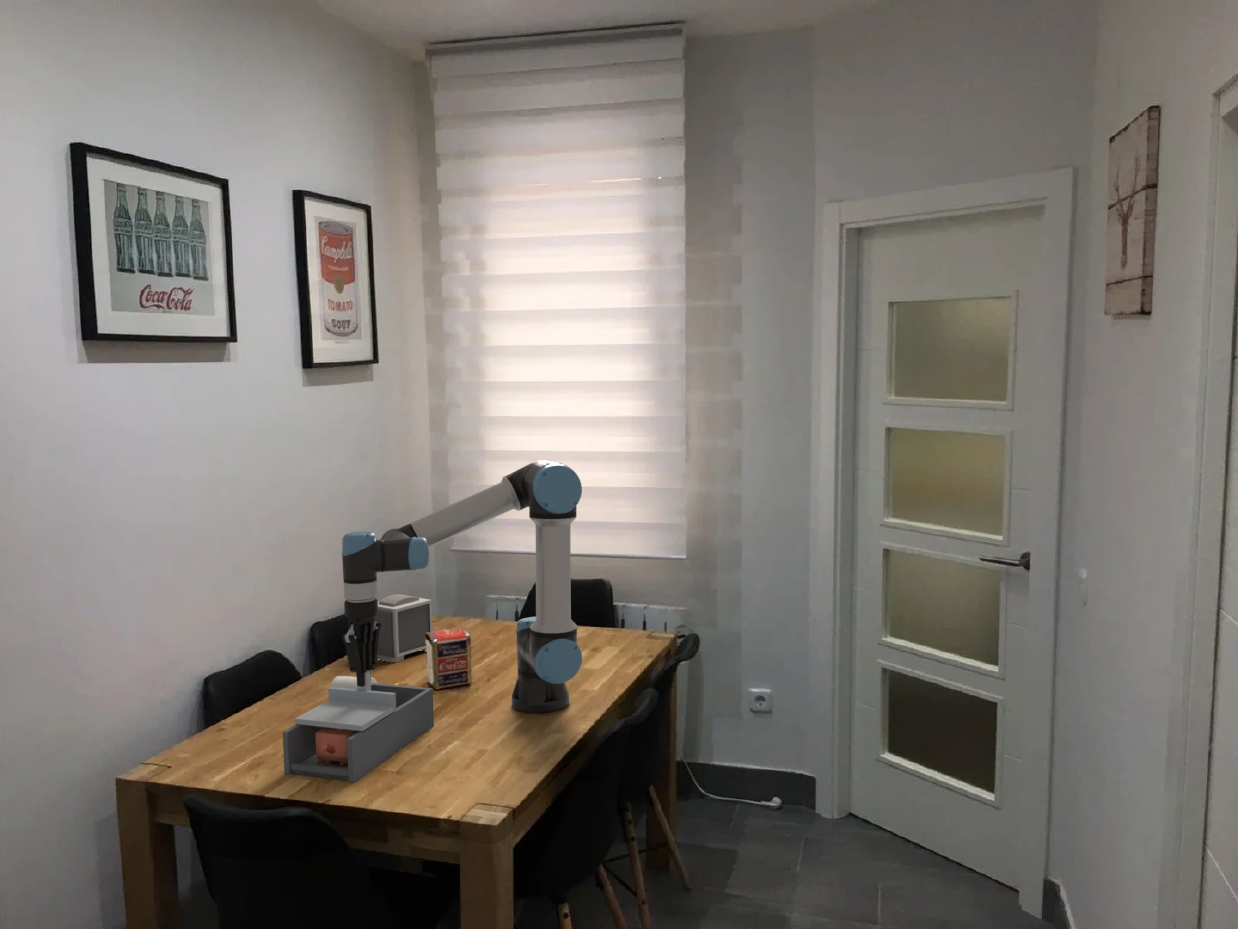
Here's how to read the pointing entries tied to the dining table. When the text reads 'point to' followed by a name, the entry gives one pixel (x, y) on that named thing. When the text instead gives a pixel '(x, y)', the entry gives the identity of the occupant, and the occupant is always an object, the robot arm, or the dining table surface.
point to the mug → (347, 682)
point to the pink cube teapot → (333, 744)
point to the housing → (363, 737)
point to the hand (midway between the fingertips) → (364, 698)
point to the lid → (350, 709)
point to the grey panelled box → (402, 626)
